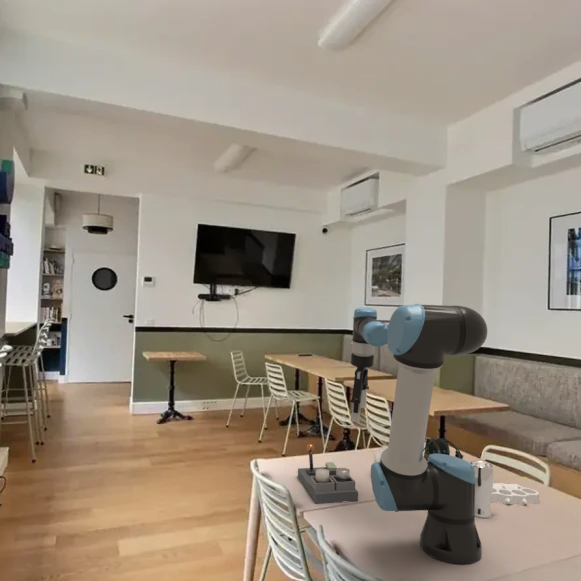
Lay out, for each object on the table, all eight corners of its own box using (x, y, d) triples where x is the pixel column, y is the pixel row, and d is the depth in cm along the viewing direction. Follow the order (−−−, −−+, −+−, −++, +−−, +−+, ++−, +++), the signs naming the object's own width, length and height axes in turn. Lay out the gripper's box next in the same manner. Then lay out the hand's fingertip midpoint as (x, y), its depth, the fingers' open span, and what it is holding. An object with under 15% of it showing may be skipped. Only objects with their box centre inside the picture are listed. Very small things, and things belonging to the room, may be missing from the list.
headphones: (408, 444, 201) (431, 467, 181) (431, 422, 202) (456, 443, 182) (426, 465, 204) (451, 490, 185) (449, 443, 205) (476, 465, 185)
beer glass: (478, 519, 143) (478, 468, 144) (463, 510, 150) (464, 461, 151) (498, 517, 145) (498, 467, 146) (483, 508, 152) (483, 459, 152)
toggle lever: (316, 470, 170) (314, 443, 173) (309, 470, 169) (307, 443, 172) (314, 470, 172) (312, 443, 175) (307, 471, 171) (305, 444, 175)
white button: (330, 482, 156) (330, 473, 156) (317, 483, 155) (317, 473, 155) (326, 477, 160) (327, 468, 160) (313, 478, 159) (314, 469, 159)
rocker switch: (336, 471, 170) (336, 467, 170) (328, 471, 169) (329, 468, 169) (332, 465, 174) (333, 462, 174) (325, 465, 174) (325, 462, 173)
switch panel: (357, 501, 155) (358, 483, 155) (315, 503, 152) (316, 486, 152) (334, 474, 178) (335, 459, 179) (297, 476, 175) (298, 461, 175)
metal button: (351, 481, 158) (351, 472, 158) (338, 482, 157) (338, 472, 157) (346, 476, 162) (347, 467, 162) (334, 477, 161) (334, 468, 161)
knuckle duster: (524, 491, 168) (546, 509, 154) (472, 489, 168) (489, 507, 154) (525, 481, 168) (546, 498, 154) (473, 479, 169) (489, 496, 154)
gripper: (357, 344, 176) (353, 400, 179) (344, 361, 152) (340, 425, 155) (378, 346, 174) (374, 403, 177) (368, 364, 150) (364, 429, 153)
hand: (358, 414), depth 166 cm, fingers open, 13 cm apart
